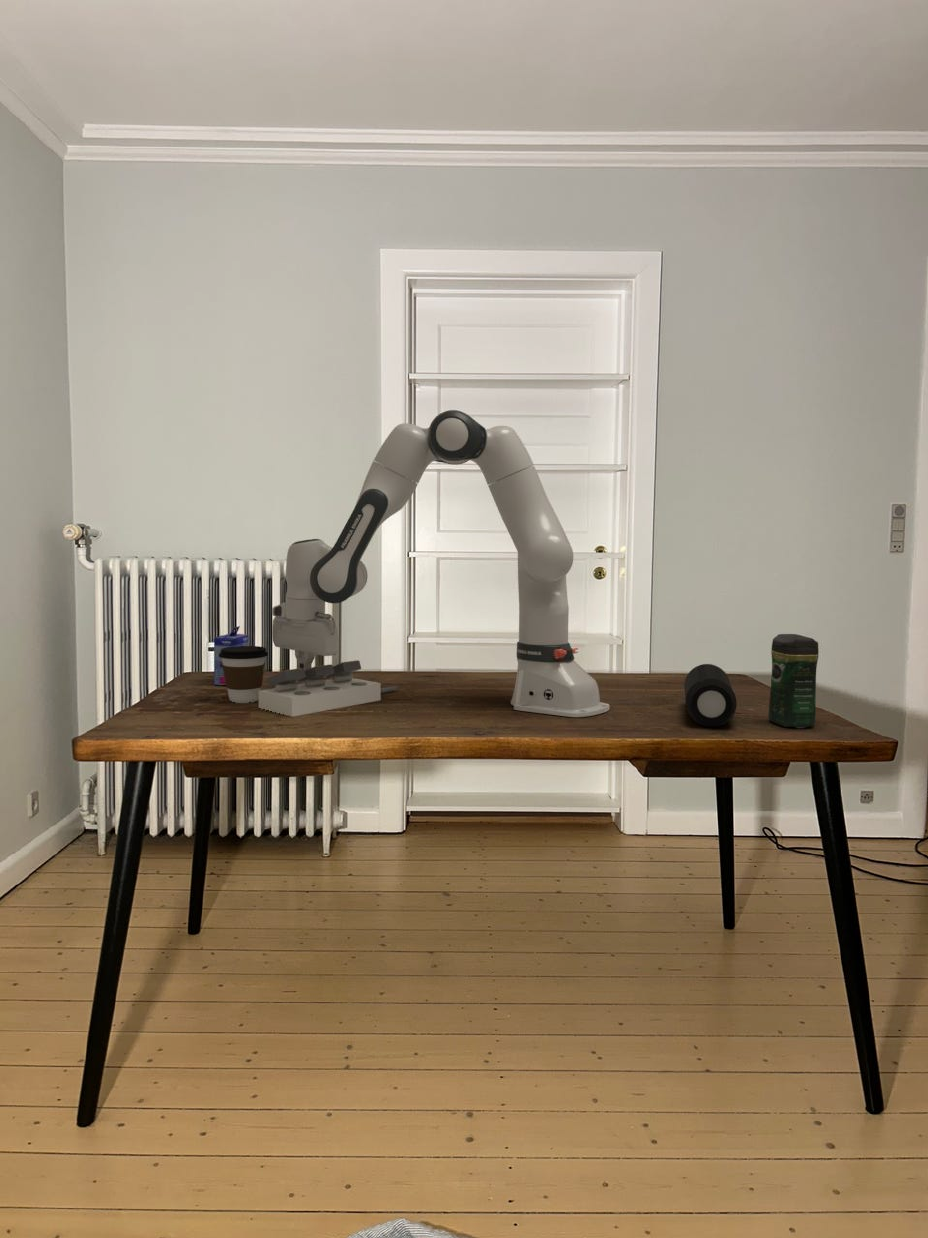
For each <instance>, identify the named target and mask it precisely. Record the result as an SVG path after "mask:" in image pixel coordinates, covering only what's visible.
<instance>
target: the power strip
mask: <svg viewBox="0 0 928 1238" xmlns="http://www.w3.org/2000/svg"><path fill="white" fill-rule="evenodd" d="M381 684H382V683H381V682H377V681H370V680H366V679H359V678H354V675H353V673H349V674H343V675H336V676H333V677H332V678H329V679H327V678H326V677H322V678H316V679H310V680H306V681H304V683H299V684H298V682H297V681H295V682H290V683H283V684H277V685H276V686H274V688H272V687H271V688H266V689H260V691H259V698H258V709H259V708H261V709H260V710H262V709H265V710H264V711H266V710H269V711H268V712H270V711H272V713H275V712H276V713H275V714H279V713H280V715H283V714H284V716H287V717H292V718H293V717H298V716H303V715H309V714H315V713H319V712H320V713H321V712H324V711H330V710H336V709H342V708H347V707H351V706H357V705H358V706H359V705H363V704H367V703H373V702H378V701H381V700H382V697H381V695H382V694H387V693H393V692H396V691H397V690H398V687H397V686H390V687H389V686H388V687H382V688H381ZM392 691H393V692H392Z"/></svg>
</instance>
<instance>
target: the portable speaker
mask: <svg viewBox="0 0 928 1238" xmlns="http://www.w3.org/2000/svg"><path fill="white" fill-rule="evenodd" d="M683 686H684V696H685V697H684V698H685V699H684V700H685V707H686V711H687V713H688V715H689V716H690V718H691V719H692V720H693V721H694V722H695V723H697V724H698V725H700V726H704V727H706V726H707V727H708V728H717V727H720V726H723V725H725V724H726V723H728V722H729V721H730V720H731V719H732V718H733V717H734V715H735V714H736V710H737V704H738V702H737V696H736V693H735V692H734V690H733V687H732V684H731V681H730V678H729V677H728V674H727V673H726V672H725V671H724V670H723V669H722V668H721V667H719V666H717V665H715V664H712V663H703V664H700V665H697V666H695V667H693V668H692V669H691V670H690V671H689V672H688V673H687V674H686V676H685V679H684V684H683ZM707 727H706V728H707Z"/></svg>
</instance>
